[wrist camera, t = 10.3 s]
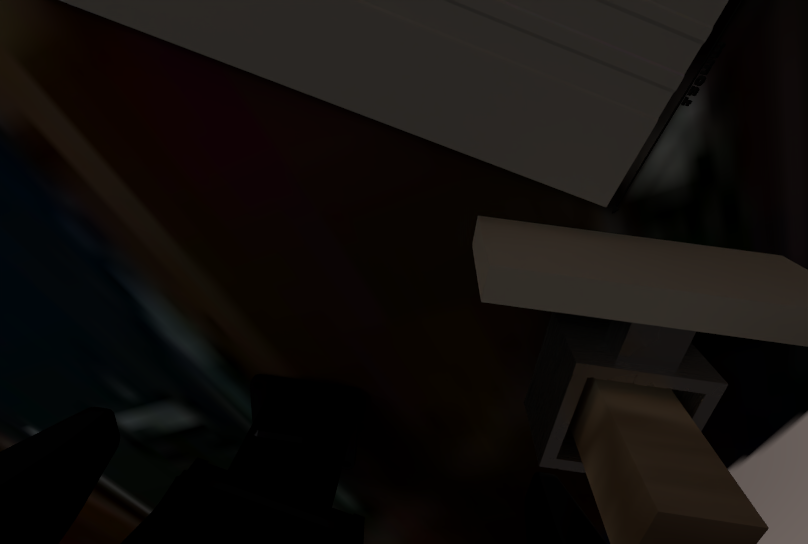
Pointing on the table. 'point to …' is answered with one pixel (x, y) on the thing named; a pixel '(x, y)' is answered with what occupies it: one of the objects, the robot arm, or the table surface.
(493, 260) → the board
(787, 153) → the table surface
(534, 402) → the square open holder
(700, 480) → the rail post
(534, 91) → the baseboard molding
